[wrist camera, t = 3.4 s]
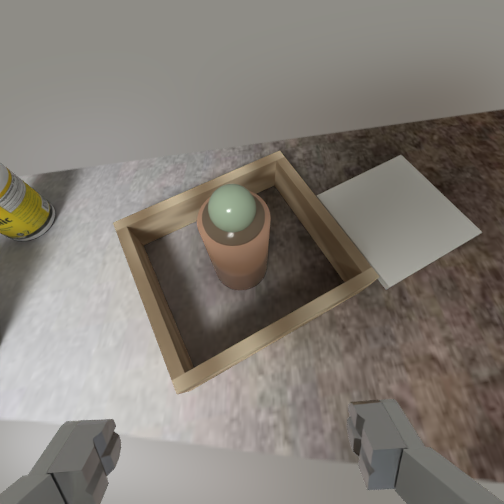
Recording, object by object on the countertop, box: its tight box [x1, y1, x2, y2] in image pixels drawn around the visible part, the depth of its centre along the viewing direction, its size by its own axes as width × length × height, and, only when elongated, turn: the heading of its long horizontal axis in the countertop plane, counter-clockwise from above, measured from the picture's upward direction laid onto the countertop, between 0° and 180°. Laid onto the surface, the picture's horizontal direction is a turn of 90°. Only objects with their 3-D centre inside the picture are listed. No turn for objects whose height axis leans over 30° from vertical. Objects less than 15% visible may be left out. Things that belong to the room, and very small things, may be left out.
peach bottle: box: [197, 184, 271, 290], centre depth 22 cm, size 5×5×12 cm
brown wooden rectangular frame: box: [113, 151, 379, 394], centre depth 25 cm, size 18×16×4 cm
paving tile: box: [316, 155, 482, 289], centre depth 29 cm, size 12×12×1 cm
